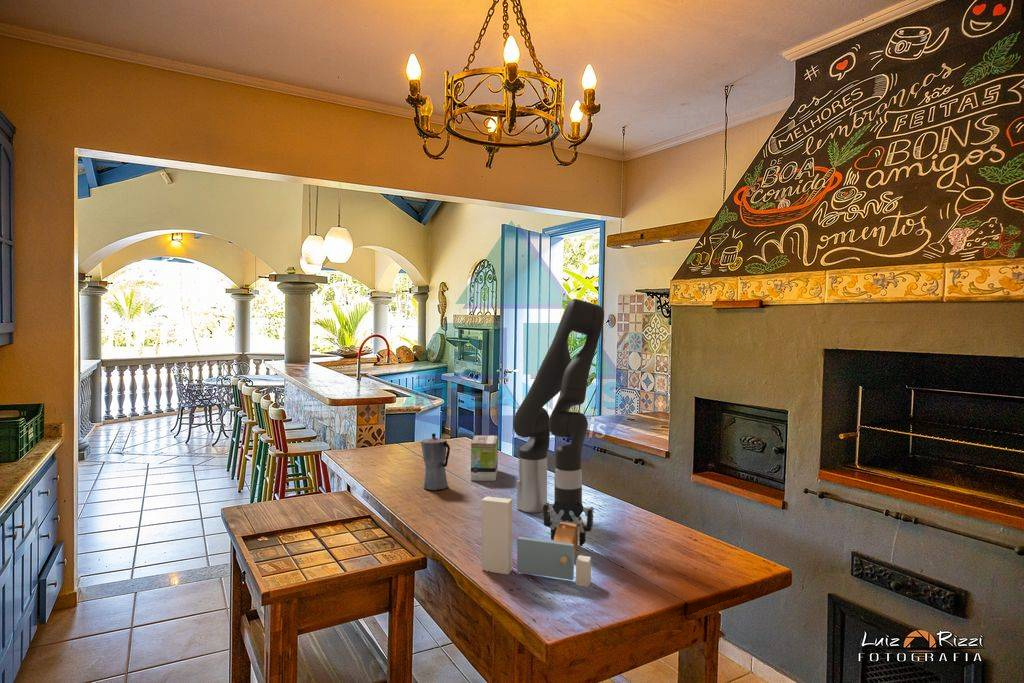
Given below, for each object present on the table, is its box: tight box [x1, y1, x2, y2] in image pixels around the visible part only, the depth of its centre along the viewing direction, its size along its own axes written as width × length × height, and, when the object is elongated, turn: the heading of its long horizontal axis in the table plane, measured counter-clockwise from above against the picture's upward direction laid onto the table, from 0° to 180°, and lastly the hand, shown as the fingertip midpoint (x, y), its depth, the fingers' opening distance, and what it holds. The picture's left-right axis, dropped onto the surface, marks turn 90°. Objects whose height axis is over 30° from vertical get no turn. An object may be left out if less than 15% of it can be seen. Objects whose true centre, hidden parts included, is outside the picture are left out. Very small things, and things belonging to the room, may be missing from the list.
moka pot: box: [420, 432, 451, 491], centre depth 212 cm, size 10×15×20 cm, turn 51°
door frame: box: [481, 496, 592, 588], centre depth 141 cm, size 27×3×18 cm, turn 71°
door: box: [516, 536, 575, 581], centre depth 140 cm, size 14×3×8 cm, turn 71°
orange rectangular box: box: [552, 521, 579, 553], centre depth 156 cm, size 11×5×6 cm, turn 161°
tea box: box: [470, 434, 499, 482], centre depth 227 cm, size 15×10×15 cm
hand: (568, 543), depth 159 cm, fingers open, 7 cm apart
